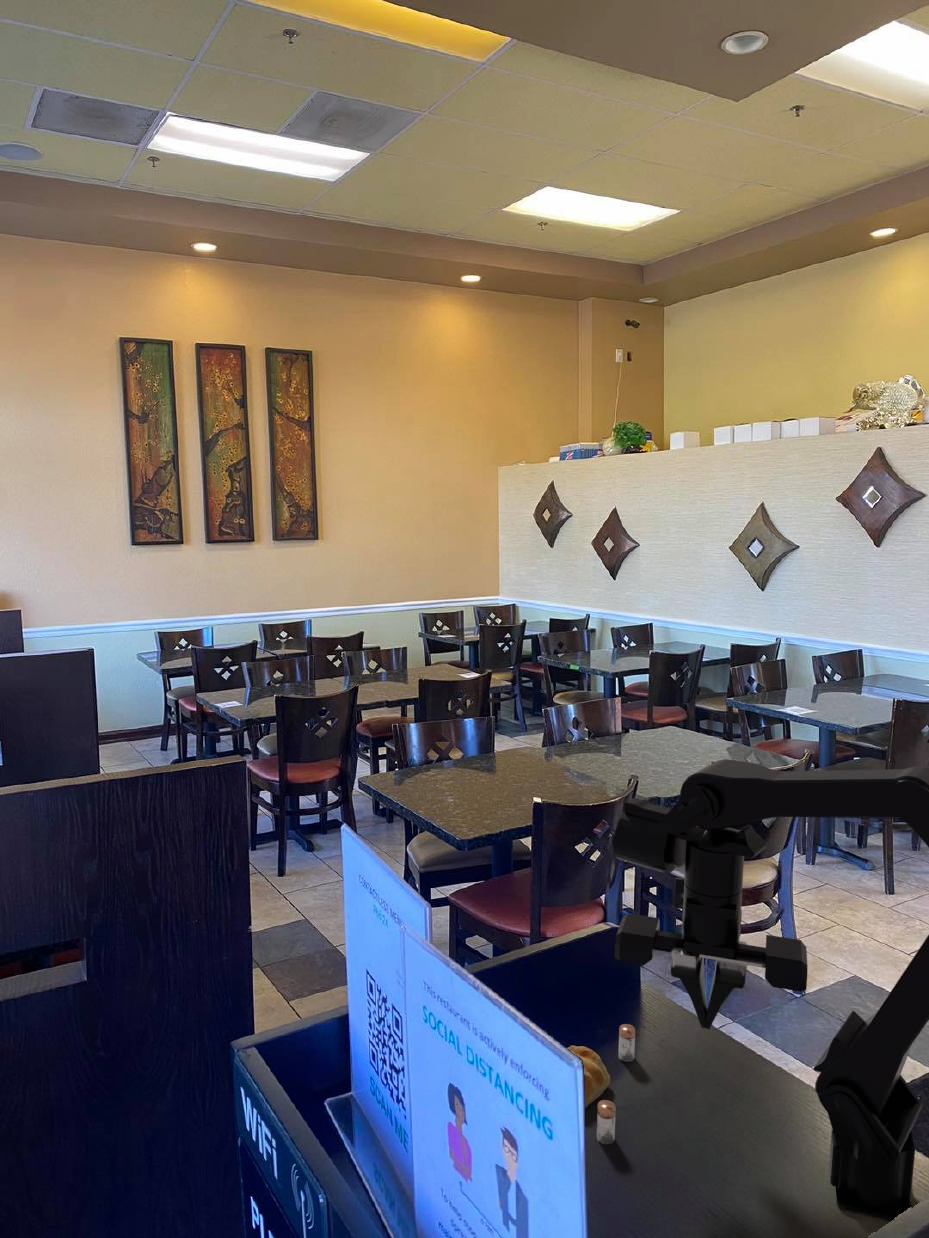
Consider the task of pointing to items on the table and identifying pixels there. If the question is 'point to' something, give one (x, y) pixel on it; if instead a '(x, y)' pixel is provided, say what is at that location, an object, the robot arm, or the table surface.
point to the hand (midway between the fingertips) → (705, 1026)
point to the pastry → (592, 1073)
